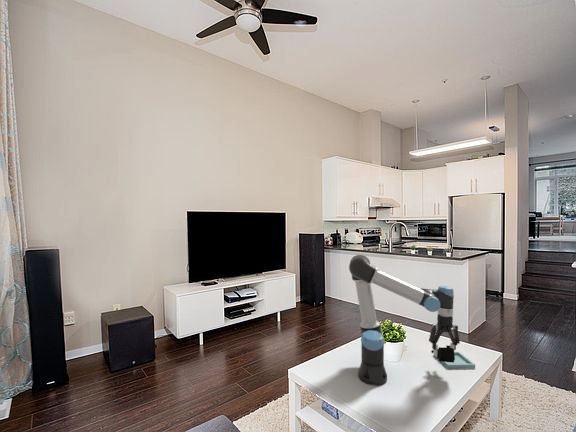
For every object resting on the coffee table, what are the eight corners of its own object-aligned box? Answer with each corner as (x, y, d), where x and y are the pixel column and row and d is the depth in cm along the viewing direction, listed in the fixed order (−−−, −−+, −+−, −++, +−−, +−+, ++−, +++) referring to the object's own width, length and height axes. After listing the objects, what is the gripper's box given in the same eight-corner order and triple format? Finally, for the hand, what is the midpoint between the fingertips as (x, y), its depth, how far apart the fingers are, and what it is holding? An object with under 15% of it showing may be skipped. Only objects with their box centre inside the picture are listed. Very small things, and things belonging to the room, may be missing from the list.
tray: (447, 368, 172) (447, 364, 172) (433, 355, 188) (433, 352, 188) (475, 368, 172) (475, 364, 172) (458, 354, 188) (458, 351, 188)
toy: (443, 344, 176) (455, 346, 162) (445, 359, 173) (457, 362, 159) (427, 343, 177) (437, 345, 162) (429, 358, 174) (439, 361, 160)
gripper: (429, 316, 161) (428, 358, 162) (468, 317, 162) (467, 359, 162) (422, 312, 169) (421, 352, 169) (460, 312, 169) (458, 352, 170)
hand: (443, 355), depth 166 cm, fingers closed on toy, 9 cm apart
